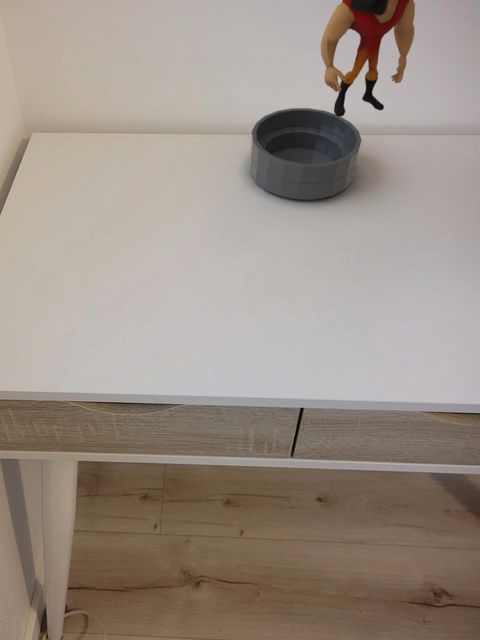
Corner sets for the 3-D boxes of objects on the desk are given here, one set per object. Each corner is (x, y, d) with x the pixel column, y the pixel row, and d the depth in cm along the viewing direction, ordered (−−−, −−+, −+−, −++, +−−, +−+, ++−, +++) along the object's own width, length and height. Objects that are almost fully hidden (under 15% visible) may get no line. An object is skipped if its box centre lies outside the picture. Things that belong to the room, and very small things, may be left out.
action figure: (319, 123, 62) (348, -43, 50) (307, 105, 64) (332, -58, 52) (406, 110, 63) (454, -56, 51) (391, 92, 65) (433, -70, 53)
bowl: (282, 133, 91) (287, 97, 87) (370, 165, 85) (379, 129, 81) (229, 178, 84) (231, 142, 80) (320, 216, 78) (327, 179, 74)
